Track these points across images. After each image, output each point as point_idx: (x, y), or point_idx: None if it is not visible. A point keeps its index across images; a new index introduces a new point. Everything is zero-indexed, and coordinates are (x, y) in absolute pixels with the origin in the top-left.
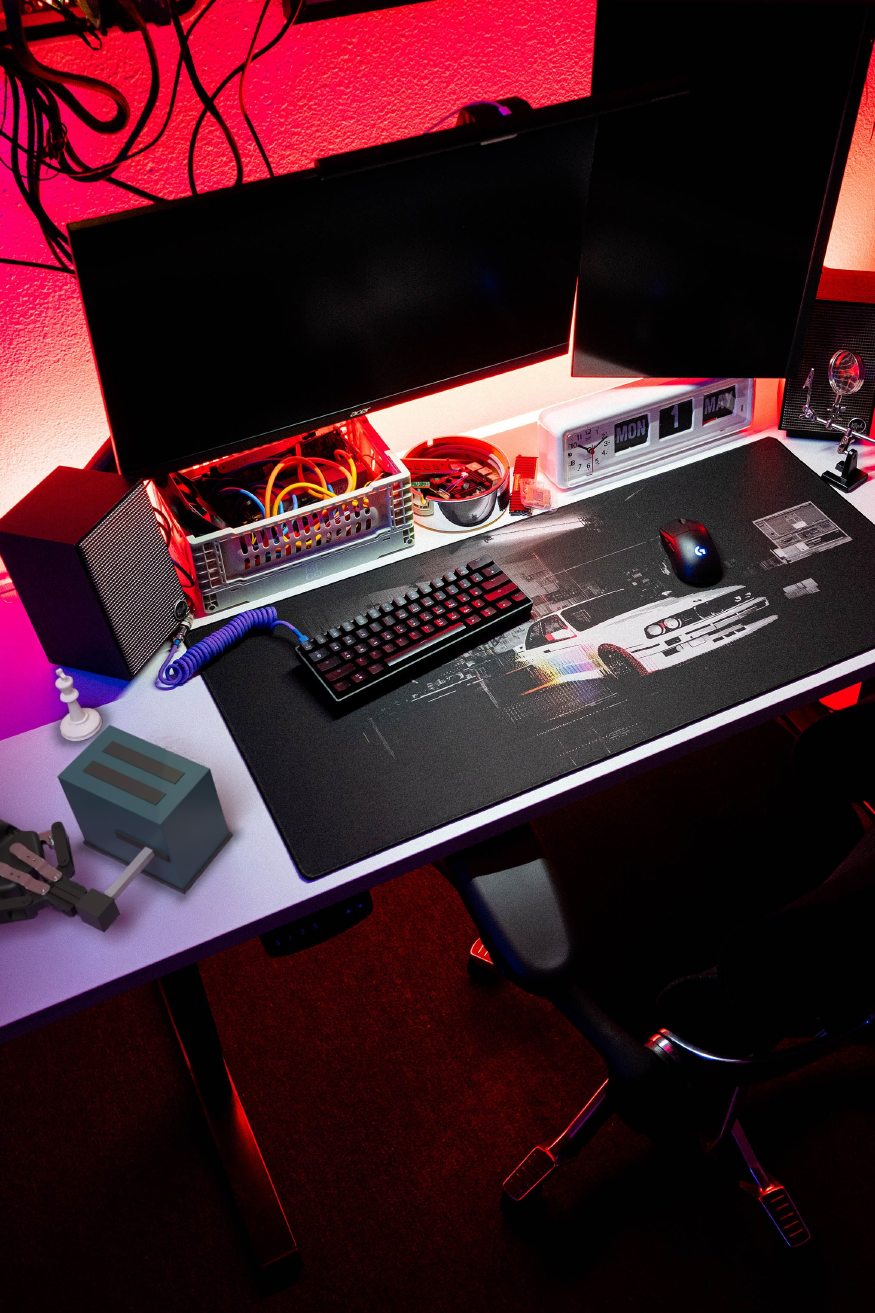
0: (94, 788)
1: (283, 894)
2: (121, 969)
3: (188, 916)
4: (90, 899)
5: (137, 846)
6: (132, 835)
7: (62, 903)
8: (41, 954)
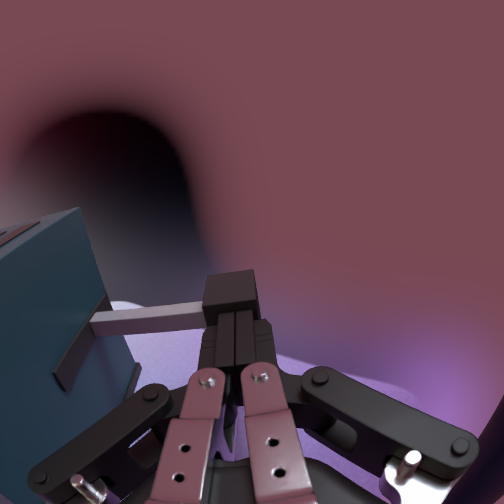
0: None
1: (123, 306)
2: (278, 357)
3: (170, 349)
4: (227, 291)
5: (85, 348)
6: (68, 331)
7: (262, 335)
8: (344, 459)
